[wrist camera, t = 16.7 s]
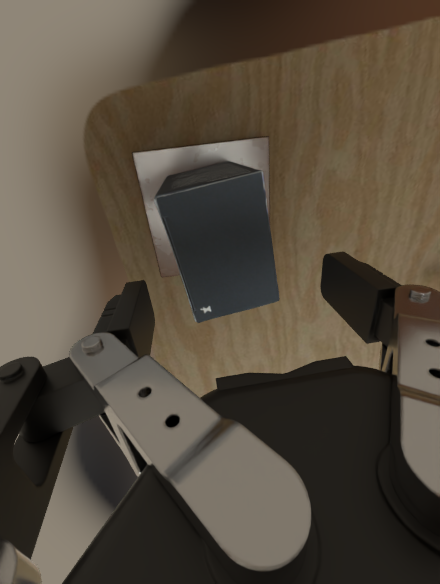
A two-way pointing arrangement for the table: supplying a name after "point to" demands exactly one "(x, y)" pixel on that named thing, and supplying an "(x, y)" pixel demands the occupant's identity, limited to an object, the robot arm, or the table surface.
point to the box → (220, 238)
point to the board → (185, 158)
